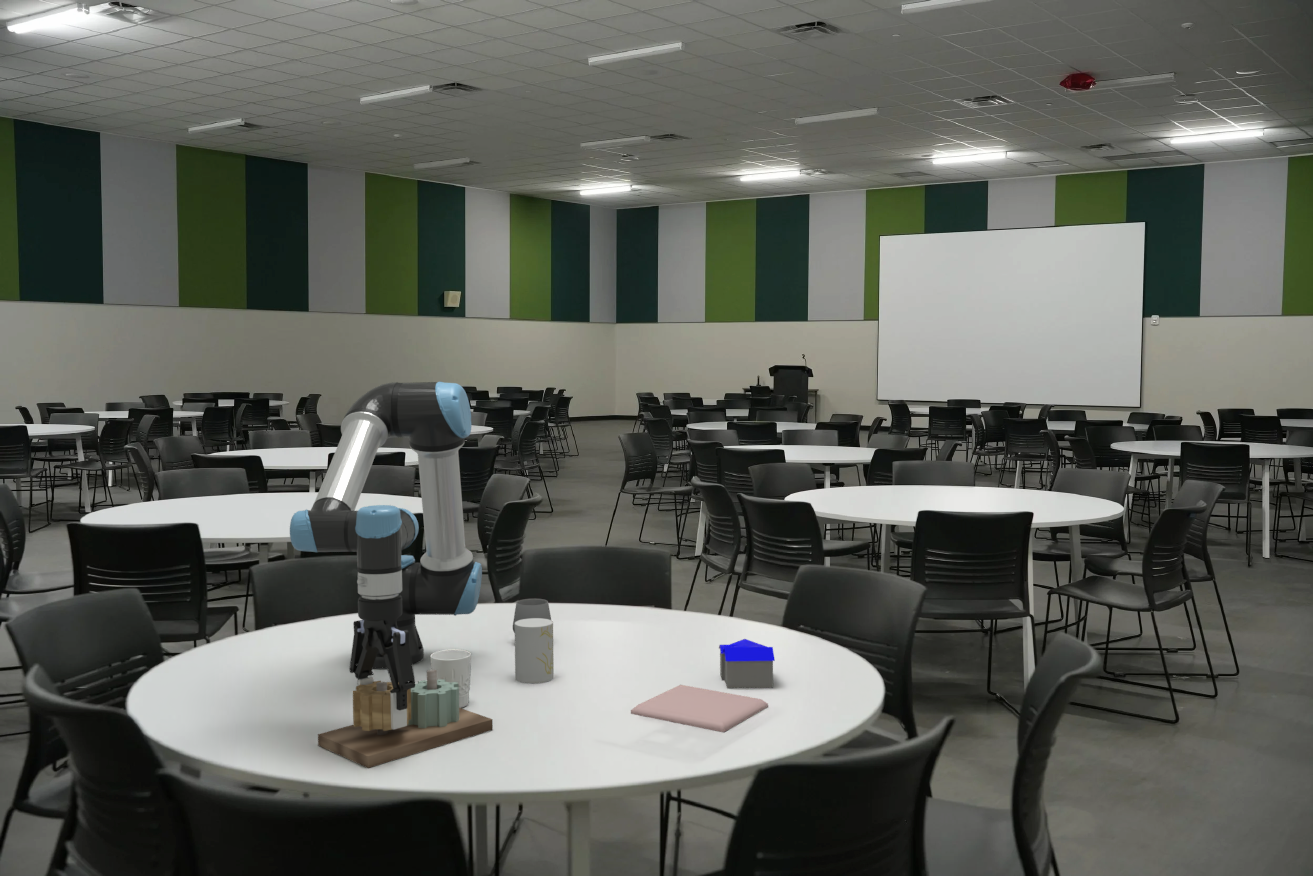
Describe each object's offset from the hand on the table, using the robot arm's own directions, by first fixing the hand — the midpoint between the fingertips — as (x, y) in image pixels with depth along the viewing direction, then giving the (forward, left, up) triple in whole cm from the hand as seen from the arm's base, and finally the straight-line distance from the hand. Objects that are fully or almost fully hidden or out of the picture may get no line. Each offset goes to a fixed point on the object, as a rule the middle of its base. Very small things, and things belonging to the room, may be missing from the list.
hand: (382, 720), depth 193 cm
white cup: (-10, +22, -5) cm, 25 cm away
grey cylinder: (-12, +45, -5) cm, 47 cm away
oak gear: (0, 0, 0) cm, 0 cm away
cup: (-35, +64, -5) cm, 73 cm away
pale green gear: (0, +11, -2) cm, 11 cm away
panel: (+27, +44, -5) cm, 52 cm away
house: (+23, +74, -5) cm, 78 cm away
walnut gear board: (0, +5, -4) cm, 7 cm away
